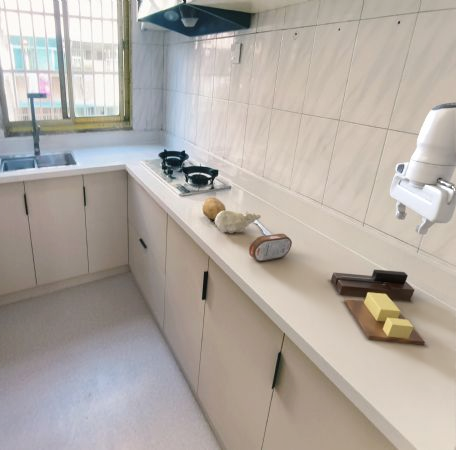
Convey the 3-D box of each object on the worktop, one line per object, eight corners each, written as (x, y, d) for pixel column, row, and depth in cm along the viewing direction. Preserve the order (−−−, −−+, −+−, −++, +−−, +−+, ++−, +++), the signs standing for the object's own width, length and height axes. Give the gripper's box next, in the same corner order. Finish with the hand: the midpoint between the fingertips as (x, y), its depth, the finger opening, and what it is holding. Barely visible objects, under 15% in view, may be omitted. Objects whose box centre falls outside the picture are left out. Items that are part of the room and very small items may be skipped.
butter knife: (266, 235, 126) (273, 235, 126) (245, 211, 148) (251, 211, 148) (265, 236, 126) (273, 236, 127) (245, 212, 148) (251, 212, 148)
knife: (397, 289, 96) (404, 271, 93) (401, 293, 94) (408, 275, 92) (337, 283, 97) (342, 266, 95) (339, 287, 96) (344, 269, 93)
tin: (284, 253, 115) (289, 231, 111) (290, 257, 112) (295, 235, 109) (246, 259, 110) (250, 236, 107) (252, 264, 107) (256, 240, 104)
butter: (381, 304, 88) (385, 293, 87) (396, 322, 82) (400, 311, 80) (363, 303, 89) (367, 292, 87) (376, 320, 82) (381, 309, 81)
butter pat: (402, 331, 79) (407, 319, 78) (408, 338, 77) (413, 326, 75) (382, 329, 80) (387, 317, 78) (387, 336, 77) (392, 324, 76)
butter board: (391, 307, 89) (392, 303, 89) (423, 345, 77) (425, 341, 76) (344, 302, 90) (345, 299, 90) (368, 339, 78) (369, 335, 77)
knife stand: (396, 287, 98) (400, 275, 97) (410, 301, 92) (415, 289, 90) (330, 280, 100) (333, 269, 99) (339, 294, 94) (343, 283, 92)
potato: (205, 225, 134) (207, 206, 131) (198, 212, 147) (199, 194, 144) (229, 225, 135) (231, 206, 132) (220, 212, 148) (222, 195, 145)
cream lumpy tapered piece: (205, 234, 131) (229, 223, 118) (205, 217, 133) (228, 204, 121) (237, 242, 137) (263, 231, 124) (236, 225, 139) (262, 213, 127)
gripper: (474, 186, 72) (449, 244, 77) (417, 164, 90) (401, 212, 96) (442, 184, 72) (420, 242, 78) (393, 163, 91) (377, 210, 97)
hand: (409, 225), depth 87 cm, fingers open, 8 cm apart
